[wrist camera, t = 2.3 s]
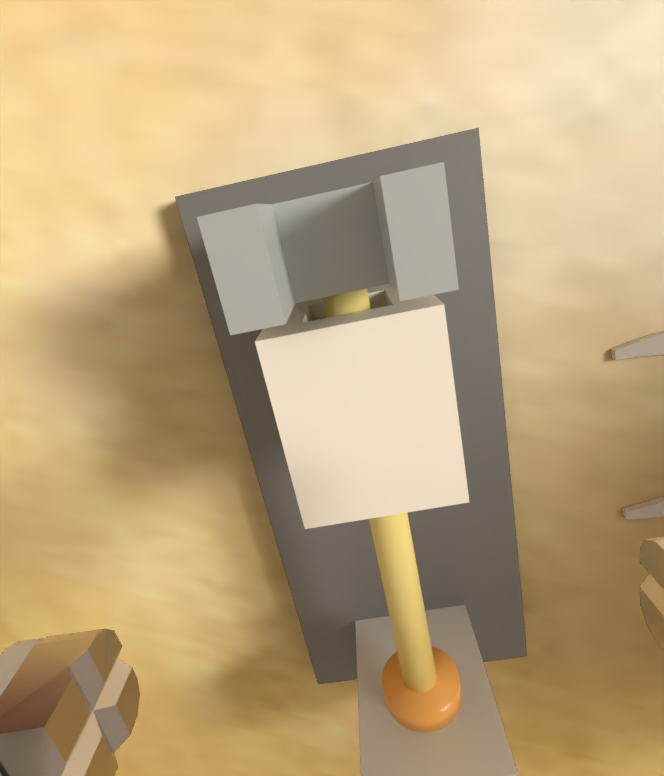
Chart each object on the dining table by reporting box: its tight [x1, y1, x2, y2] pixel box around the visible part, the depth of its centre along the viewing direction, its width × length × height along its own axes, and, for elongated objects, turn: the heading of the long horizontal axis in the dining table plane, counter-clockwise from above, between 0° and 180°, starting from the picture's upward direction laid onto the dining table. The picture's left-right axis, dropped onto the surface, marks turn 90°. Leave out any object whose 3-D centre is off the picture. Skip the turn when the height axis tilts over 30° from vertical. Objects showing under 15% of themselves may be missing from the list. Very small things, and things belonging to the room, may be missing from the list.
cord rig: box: [175, 128, 527, 776], centre depth 19 cm, size 12×27×12 cm, turn 12°
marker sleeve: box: [255, 284, 469, 529], centre depth 16 cm, size 5×6×5 cm
